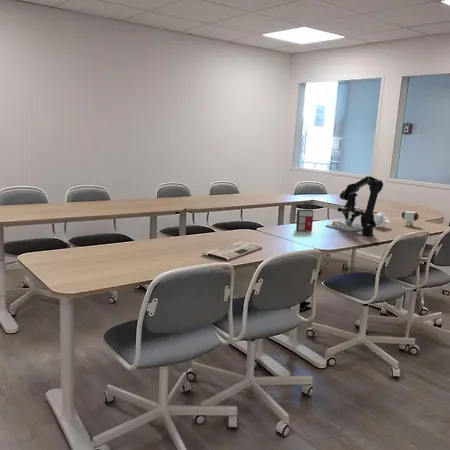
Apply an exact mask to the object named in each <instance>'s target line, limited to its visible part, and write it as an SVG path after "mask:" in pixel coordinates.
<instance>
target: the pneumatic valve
mask: <svg viewBox="0 0 450 450" xmlns="http://www.w3.org/2000/svg"><path fill="white" fill-rule="evenodd" d="M419 217H420V216H419V214H418V212H417V211H412V210H409V211H408V210H405V211H403V212H402V213H401V218H402V220H406V221H405V226H407V227H412V226H414V222H415V221H417V220H419Z"/></svg>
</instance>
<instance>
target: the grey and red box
mask: <svg viewBox="0 0 450 450" xmlns="http://www.w3.org/2000/svg"><path fill="white" fill-rule="evenodd" d="M313 221H314V210H313V209H297V211H296V228H295V230H296V231H297V232H312V231H313Z"/></svg>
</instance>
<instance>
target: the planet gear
mask: <svg viewBox="0 0 450 450" xmlns="http://www.w3.org/2000/svg"><path fill="white" fill-rule="evenodd" d="M351 217H352V216H351ZM351 217H347V221H346V220H345V222H346V223H342V224H341V225H344V226H349V227H354V226H357V225H355V224H352V223H351Z"/></svg>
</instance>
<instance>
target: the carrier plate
mask: <svg viewBox="0 0 450 450" xmlns="http://www.w3.org/2000/svg"><path fill="white" fill-rule="evenodd" d="M342 223H346V221H343V222H342V221H340V220H332V224H326V225H325V227H326V228H330V229H334V230H339V231H343V232H347V233H355V232H359V231H362V229H363V227H362V226H361V223H354V222H353V223H352V224H355V225H357V226H354V227H349V226H344V225H341V224H342ZM354 231H355V232H354Z"/></svg>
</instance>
